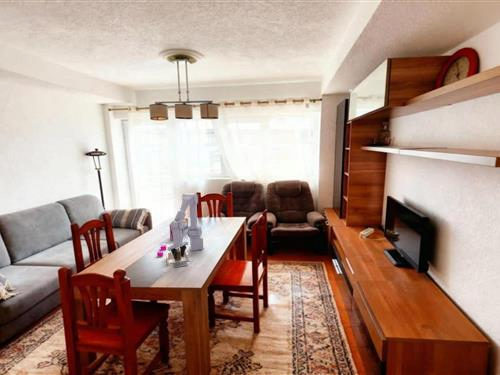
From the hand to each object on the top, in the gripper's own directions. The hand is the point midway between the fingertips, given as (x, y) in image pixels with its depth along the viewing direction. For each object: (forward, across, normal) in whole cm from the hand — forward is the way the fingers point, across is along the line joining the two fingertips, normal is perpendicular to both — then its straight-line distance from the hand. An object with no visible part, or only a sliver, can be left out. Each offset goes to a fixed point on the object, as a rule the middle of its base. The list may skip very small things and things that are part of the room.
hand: (178, 257), depth 180 cm
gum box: (+4, -32, -50) cm, 59 cm away
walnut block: (+3, -2, -5) cm, 6 cm away
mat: (+4, +1, +3) cm, 5 cm away
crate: (+4, -2, -6) cm, 7 cm away
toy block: (+9, -1, -27) cm, 29 cm away
